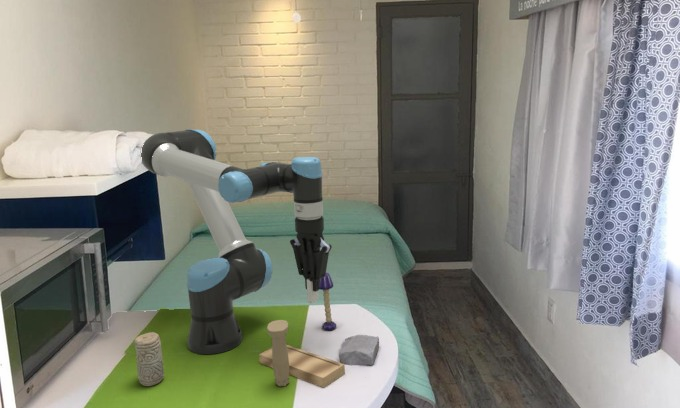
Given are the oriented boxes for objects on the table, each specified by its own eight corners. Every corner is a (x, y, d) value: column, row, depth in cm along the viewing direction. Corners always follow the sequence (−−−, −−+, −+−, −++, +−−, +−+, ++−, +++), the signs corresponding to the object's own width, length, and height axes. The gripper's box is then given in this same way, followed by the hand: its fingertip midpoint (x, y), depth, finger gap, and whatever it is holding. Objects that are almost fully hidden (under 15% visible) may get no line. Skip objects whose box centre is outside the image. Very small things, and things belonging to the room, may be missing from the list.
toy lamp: (321, 332, 162) (318, 277, 159) (318, 325, 167) (315, 272, 163) (338, 329, 163) (334, 275, 160) (334, 323, 168) (331, 270, 165)
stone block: (338, 372, 143) (376, 366, 141) (334, 354, 142) (372, 348, 140) (347, 352, 154) (382, 346, 152) (343, 335, 154) (378, 330, 152)
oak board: (259, 363, 146) (259, 353, 145) (281, 351, 152) (280, 342, 151) (323, 387, 132) (323, 377, 132) (344, 373, 138) (344, 363, 138)
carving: (142, 391, 135) (136, 345, 132) (135, 379, 141) (129, 334, 139) (169, 383, 138) (163, 338, 136) (161, 371, 144) (155, 327, 142)
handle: (271, 391, 132) (265, 332, 129) (273, 377, 138) (269, 320, 135) (291, 390, 132) (286, 330, 129) (293, 376, 138) (289, 319, 135)
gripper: (281, 216, 147) (286, 300, 152) (318, 222, 139) (322, 311, 144) (300, 210, 153) (304, 292, 158) (337, 216, 145) (340, 302, 150)
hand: (313, 301), depth 151 cm, fingers closed
